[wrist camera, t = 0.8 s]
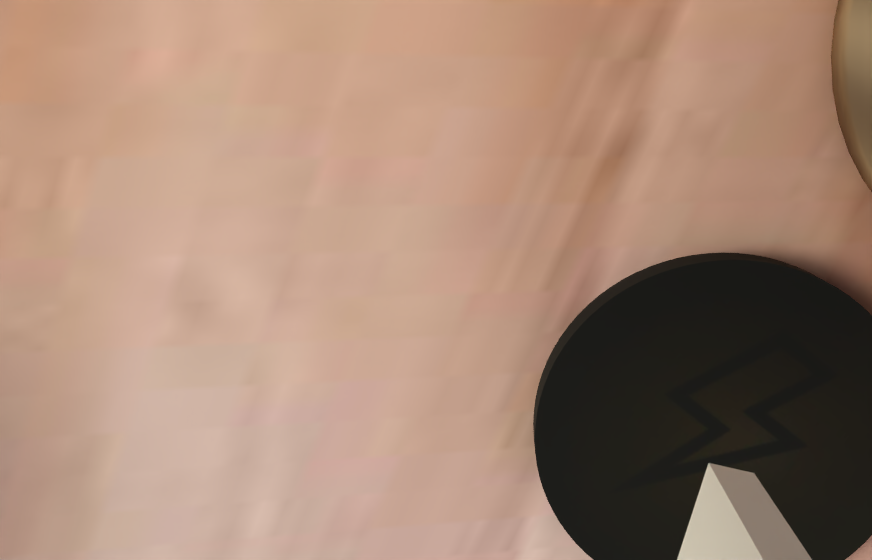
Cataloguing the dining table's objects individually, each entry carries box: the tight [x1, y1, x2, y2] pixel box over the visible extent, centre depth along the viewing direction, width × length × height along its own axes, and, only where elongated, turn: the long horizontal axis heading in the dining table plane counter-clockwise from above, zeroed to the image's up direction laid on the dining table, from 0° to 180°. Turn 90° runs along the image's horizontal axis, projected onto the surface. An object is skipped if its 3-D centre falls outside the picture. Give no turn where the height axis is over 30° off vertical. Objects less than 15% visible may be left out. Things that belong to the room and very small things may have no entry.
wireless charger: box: [533, 253, 872, 560], centre depth 37 cm, size 18×18×2 cm
